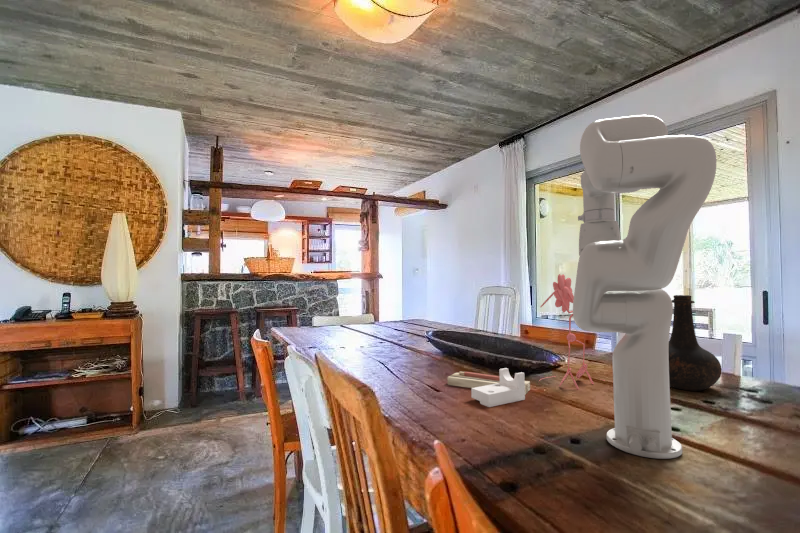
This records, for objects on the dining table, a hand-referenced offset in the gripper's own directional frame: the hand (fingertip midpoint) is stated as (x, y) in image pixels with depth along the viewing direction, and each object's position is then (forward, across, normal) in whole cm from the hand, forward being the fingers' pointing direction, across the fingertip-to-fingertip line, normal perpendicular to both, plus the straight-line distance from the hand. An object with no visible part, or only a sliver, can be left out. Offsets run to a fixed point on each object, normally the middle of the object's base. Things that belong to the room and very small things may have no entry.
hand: (601, 284), depth 104 cm
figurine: (+32, -12, +15) cm, 37 cm away
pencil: (+29, -34, -2) cm, 45 cm away
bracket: (+32, -25, -13) cm, 43 cm away
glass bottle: (+32, +19, +28) cm, 47 cm away
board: (+32, -32, -3) cm, 45 cm away
